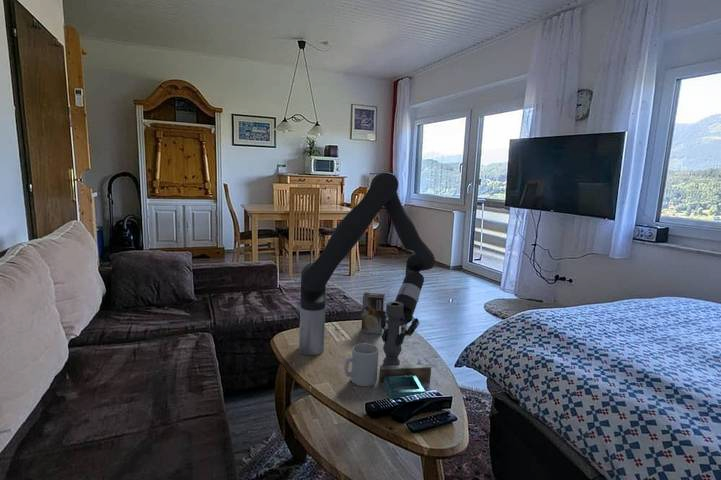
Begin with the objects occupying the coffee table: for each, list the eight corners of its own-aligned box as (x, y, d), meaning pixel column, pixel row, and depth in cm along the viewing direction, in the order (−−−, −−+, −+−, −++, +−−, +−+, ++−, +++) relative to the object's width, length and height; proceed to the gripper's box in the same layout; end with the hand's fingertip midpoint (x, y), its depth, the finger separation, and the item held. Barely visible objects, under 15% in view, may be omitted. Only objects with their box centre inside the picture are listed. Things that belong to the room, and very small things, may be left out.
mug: (366, 371, 139) (368, 341, 137) (381, 382, 132) (384, 350, 130) (337, 379, 132) (338, 348, 130) (351, 392, 125) (353, 359, 123)
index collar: (390, 403, 120) (391, 392, 120) (383, 385, 130) (383, 375, 130) (424, 401, 122) (425, 391, 121) (414, 384, 132) (414, 374, 132)
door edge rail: (380, 384, 131) (381, 368, 130) (378, 380, 133) (379, 365, 132) (430, 382, 134) (431, 367, 133) (428, 379, 136) (429, 364, 135)
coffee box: (383, 329, 177) (385, 293, 174) (381, 334, 171) (384, 298, 168) (362, 326, 179) (364, 291, 176) (360, 332, 172) (362, 296, 170)
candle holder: (399, 370, 140) (404, 301, 136) (399, 379, 134) (404, 307, 130) (382, 369, 141) (386, 300, 137) (381, 377, 135) (385, 306, 131)
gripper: (386, 289, 143) (368, 333, 134) (424, 297, 136) (408, 343, 128) (391, 300, 148) (374, 342, 140) (428, 308, 142) (413, 353, 133)
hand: (391, 342), depth 134 cm, fingers closed on candle holder, 4 cm apart
